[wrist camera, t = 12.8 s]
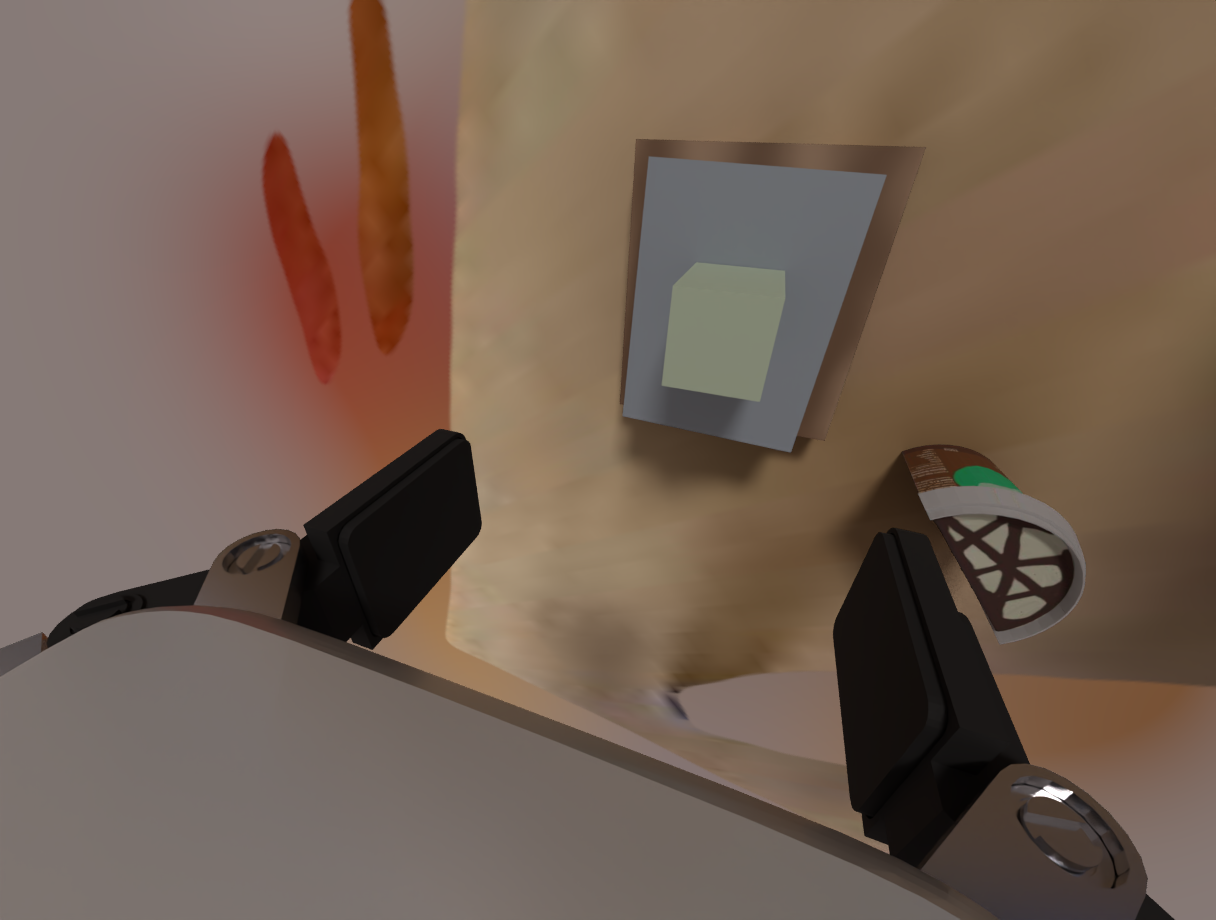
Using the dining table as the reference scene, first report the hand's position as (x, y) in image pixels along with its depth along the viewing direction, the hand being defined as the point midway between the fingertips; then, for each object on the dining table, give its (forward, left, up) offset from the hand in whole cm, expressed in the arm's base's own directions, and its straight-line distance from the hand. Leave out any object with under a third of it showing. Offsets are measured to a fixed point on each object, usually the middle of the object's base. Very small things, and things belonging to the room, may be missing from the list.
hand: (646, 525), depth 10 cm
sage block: (0, 0, -21) cm, 21 cm away
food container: (-20, +12, -28) cm, 37 cm away
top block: (0, 0, -25) cm, 25 cm away
